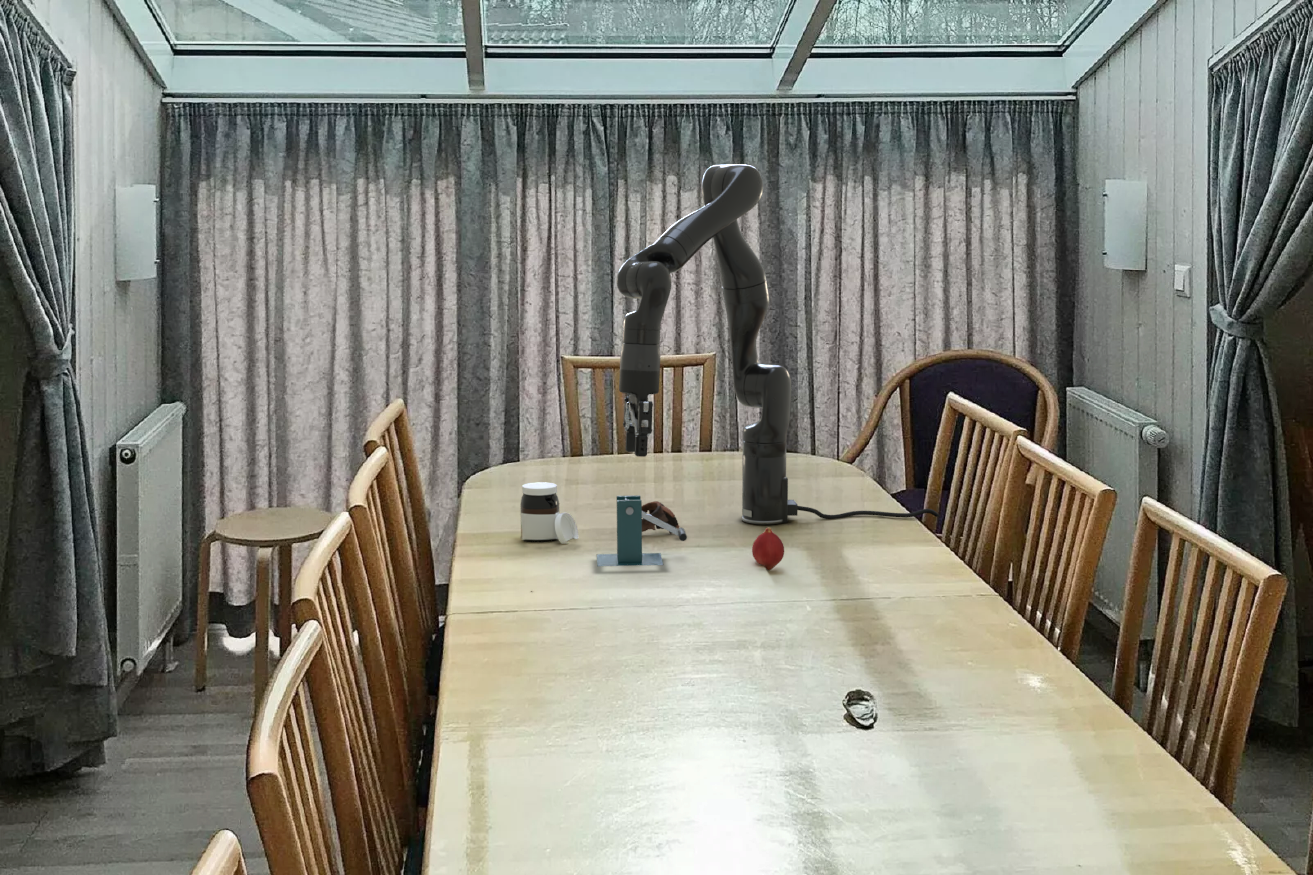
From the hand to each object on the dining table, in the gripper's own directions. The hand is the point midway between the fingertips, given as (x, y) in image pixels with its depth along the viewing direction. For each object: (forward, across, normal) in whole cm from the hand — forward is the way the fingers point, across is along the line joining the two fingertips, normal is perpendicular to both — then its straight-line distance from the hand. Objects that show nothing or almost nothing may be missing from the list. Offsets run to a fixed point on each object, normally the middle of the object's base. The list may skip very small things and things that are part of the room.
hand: (635, 453), depth 261 cm
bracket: (+20, -7, +2) cm, 21 cm away
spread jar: (+20, +14, +14) cm, 28 cm away
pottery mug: (+18, +15, -8) cm, 25 cm away
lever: (+12, -8, -2) cm, 15 cm away
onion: (+19, -16, -22) cm, 33 cm away
